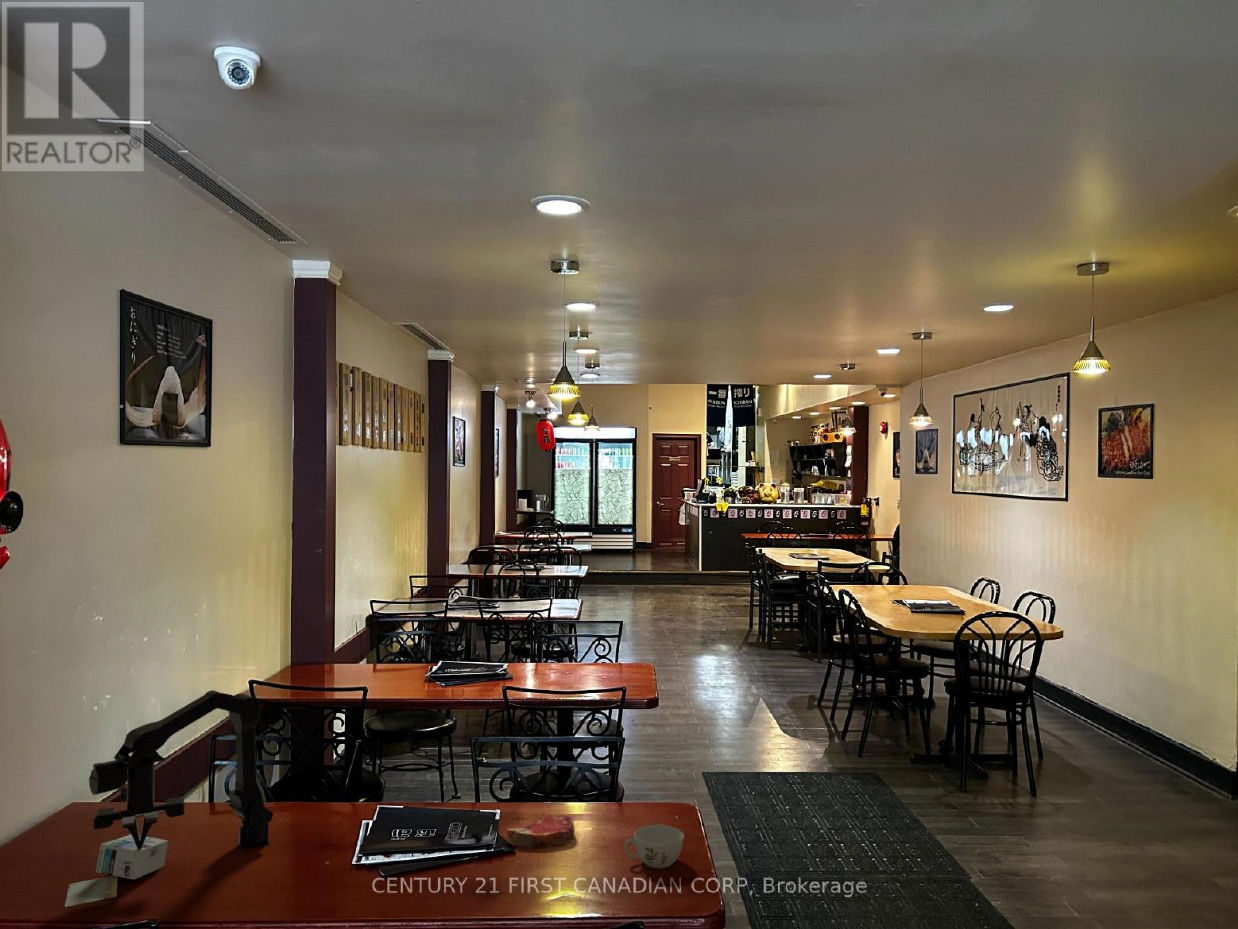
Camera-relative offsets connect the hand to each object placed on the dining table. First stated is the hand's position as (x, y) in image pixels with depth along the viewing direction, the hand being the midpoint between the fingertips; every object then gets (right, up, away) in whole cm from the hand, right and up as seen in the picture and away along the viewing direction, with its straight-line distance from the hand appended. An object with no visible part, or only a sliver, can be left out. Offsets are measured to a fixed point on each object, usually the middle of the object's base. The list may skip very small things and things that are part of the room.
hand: (139, 848), depth 203 cm
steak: (+95, -10, +23) cm, 98 cm away
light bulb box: (+1, -4, +3) cm, 6 cm away
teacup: (+124, -9, +10) cm, 124 cm away
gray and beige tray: (-8, -8, -5) cm, 13 cm away
